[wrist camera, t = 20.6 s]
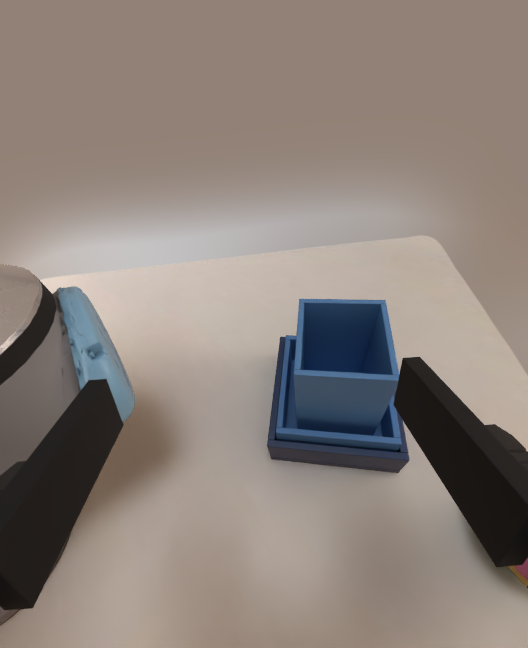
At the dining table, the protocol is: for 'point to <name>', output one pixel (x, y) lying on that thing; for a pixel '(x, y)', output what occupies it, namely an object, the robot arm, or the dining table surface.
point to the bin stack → (329, 447)
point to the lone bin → (343, 365)
